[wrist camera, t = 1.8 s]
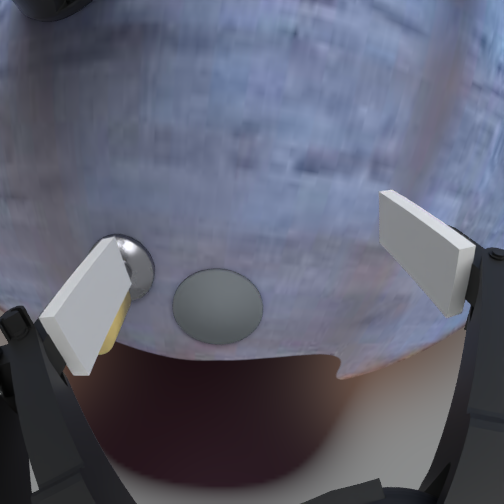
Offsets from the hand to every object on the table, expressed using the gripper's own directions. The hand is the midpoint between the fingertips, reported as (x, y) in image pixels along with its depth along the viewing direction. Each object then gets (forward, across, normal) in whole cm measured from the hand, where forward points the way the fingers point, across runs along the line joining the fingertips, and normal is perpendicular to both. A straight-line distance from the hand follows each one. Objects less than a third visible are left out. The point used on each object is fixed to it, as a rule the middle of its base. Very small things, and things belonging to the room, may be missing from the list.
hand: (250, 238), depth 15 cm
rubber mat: (+24, -7, -20) cm, 32 cm away
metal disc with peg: (+24, -19, -11) cm, 33 cm away
